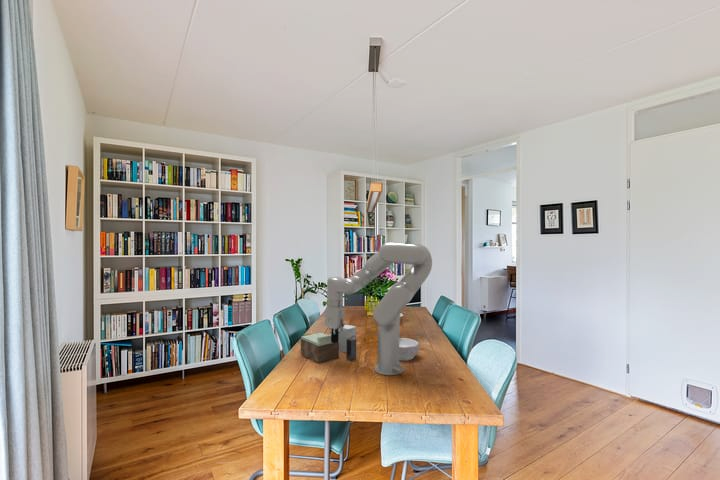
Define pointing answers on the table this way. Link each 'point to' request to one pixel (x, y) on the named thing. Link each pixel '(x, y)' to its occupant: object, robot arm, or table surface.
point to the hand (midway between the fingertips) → (334, 342)
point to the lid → (318, 339)
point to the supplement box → (346, 336)
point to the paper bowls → (407, 349)
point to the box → (319, 351)
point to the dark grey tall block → (351, 349)
